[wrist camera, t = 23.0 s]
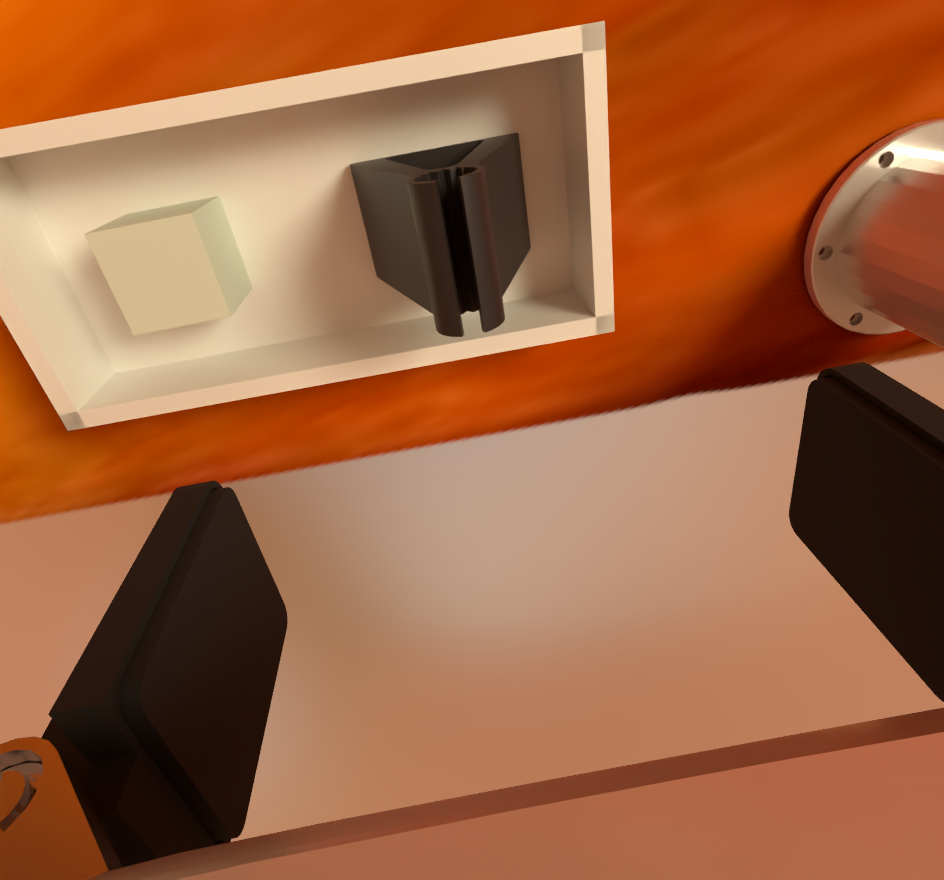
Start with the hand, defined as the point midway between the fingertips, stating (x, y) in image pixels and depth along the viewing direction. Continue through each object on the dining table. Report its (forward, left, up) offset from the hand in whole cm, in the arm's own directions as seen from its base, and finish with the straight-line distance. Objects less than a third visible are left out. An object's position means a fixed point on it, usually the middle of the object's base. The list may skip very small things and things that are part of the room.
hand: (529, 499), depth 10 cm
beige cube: (+14, 0, -27) cm, 31 cm away
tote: (+7, 0, -28) cm, 29 cm away
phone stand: (0, 0, -28) cm, 28 cm away
